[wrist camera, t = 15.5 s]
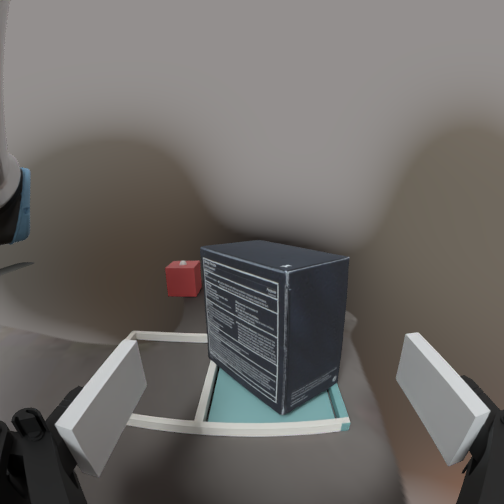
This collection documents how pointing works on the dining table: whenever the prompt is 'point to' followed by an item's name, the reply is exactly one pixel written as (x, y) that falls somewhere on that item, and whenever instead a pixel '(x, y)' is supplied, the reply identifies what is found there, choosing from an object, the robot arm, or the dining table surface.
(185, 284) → the red block
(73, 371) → the dining table surface
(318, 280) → the small box
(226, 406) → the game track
